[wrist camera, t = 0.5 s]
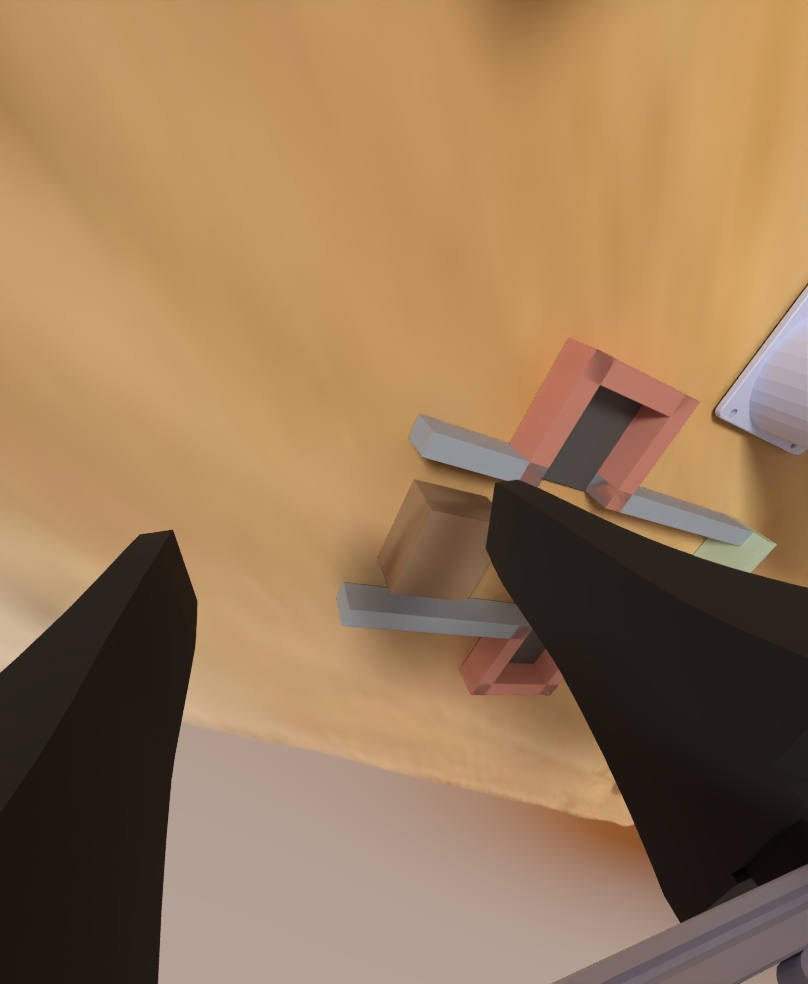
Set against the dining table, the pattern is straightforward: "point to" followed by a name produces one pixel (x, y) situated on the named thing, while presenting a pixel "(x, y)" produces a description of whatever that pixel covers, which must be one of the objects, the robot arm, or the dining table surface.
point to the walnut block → (437, 543)
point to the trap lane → (569, 461)
